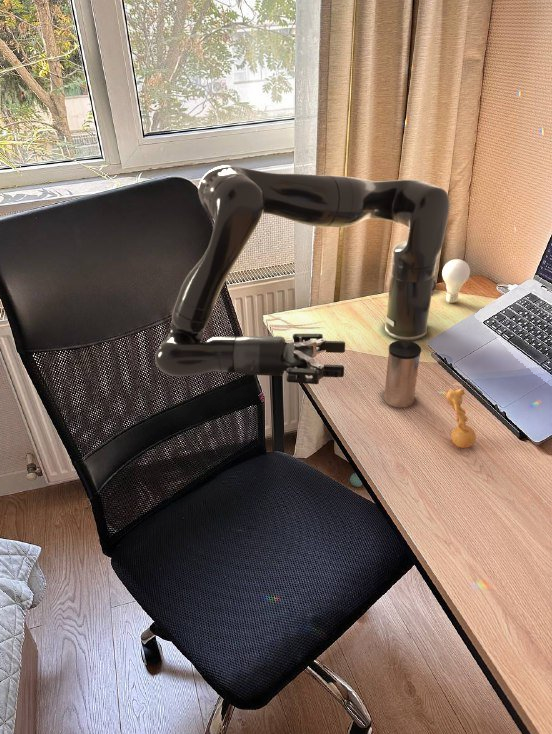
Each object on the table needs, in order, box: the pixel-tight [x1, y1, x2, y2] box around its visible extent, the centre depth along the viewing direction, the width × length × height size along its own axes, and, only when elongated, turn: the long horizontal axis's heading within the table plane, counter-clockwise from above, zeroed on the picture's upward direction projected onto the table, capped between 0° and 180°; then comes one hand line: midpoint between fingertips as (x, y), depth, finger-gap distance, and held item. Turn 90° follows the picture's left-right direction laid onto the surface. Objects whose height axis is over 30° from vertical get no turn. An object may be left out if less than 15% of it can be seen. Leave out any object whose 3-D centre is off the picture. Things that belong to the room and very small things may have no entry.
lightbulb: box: [441, 258, 471, 304], centre depth 142 cm, size 6×6×11 cm
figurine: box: [445, 388, 477, 449], centre depth 99 cm, size 8×6×12 cm
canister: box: [383, 339, 422, 409], centre depth 110 cm, size 6×6×12 cm
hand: (344, 358), depth 110 cm, fingers open, 8 cm apart
